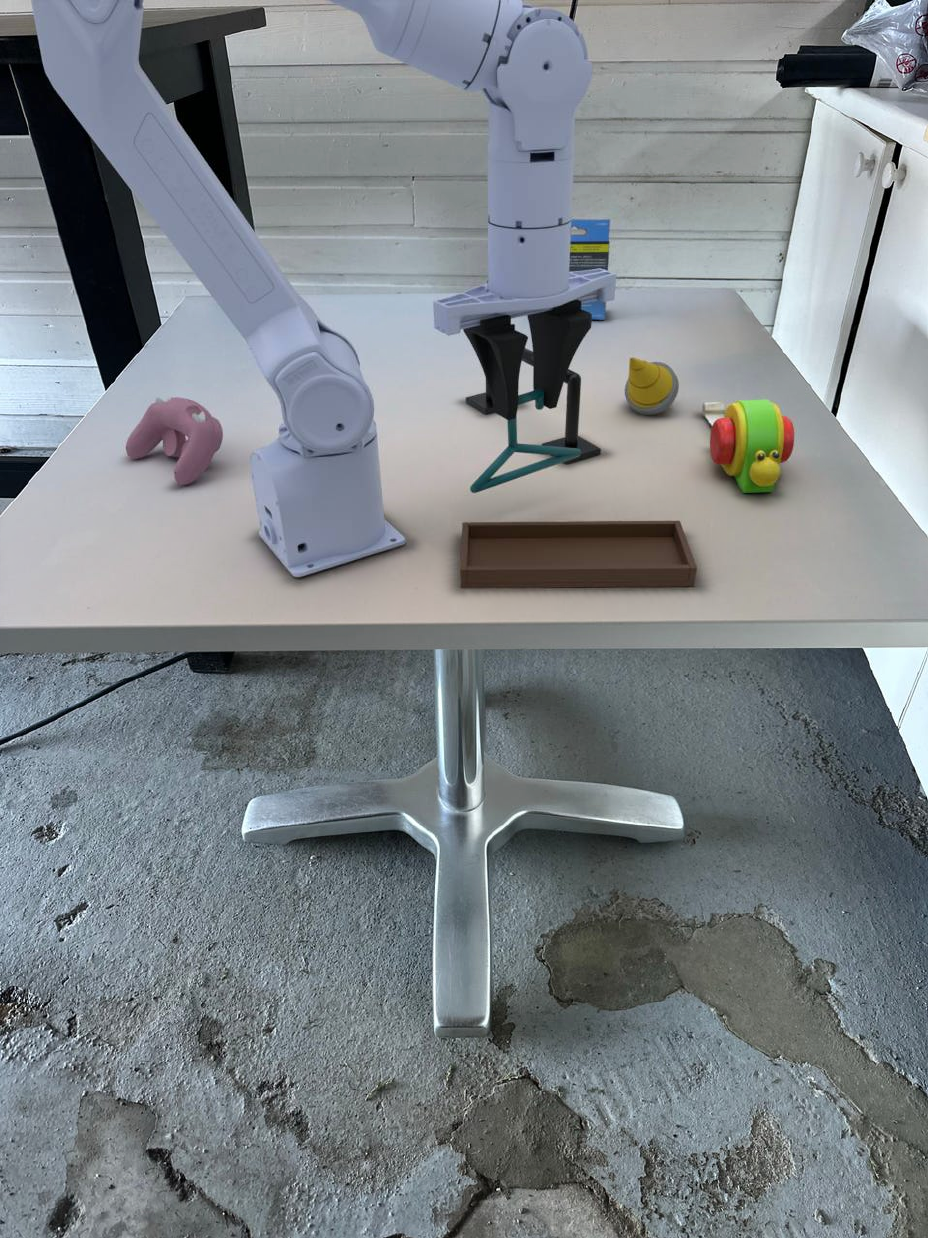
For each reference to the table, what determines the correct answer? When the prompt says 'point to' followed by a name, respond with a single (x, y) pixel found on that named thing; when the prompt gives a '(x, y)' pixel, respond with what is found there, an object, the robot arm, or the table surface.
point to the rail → (572, 413)
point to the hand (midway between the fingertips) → (525, 409)
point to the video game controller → (178, 436)
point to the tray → (575, 554)
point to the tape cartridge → (590, 255)
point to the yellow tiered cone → (650, 386)
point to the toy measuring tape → (750, 441)
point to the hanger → (513, 446)
